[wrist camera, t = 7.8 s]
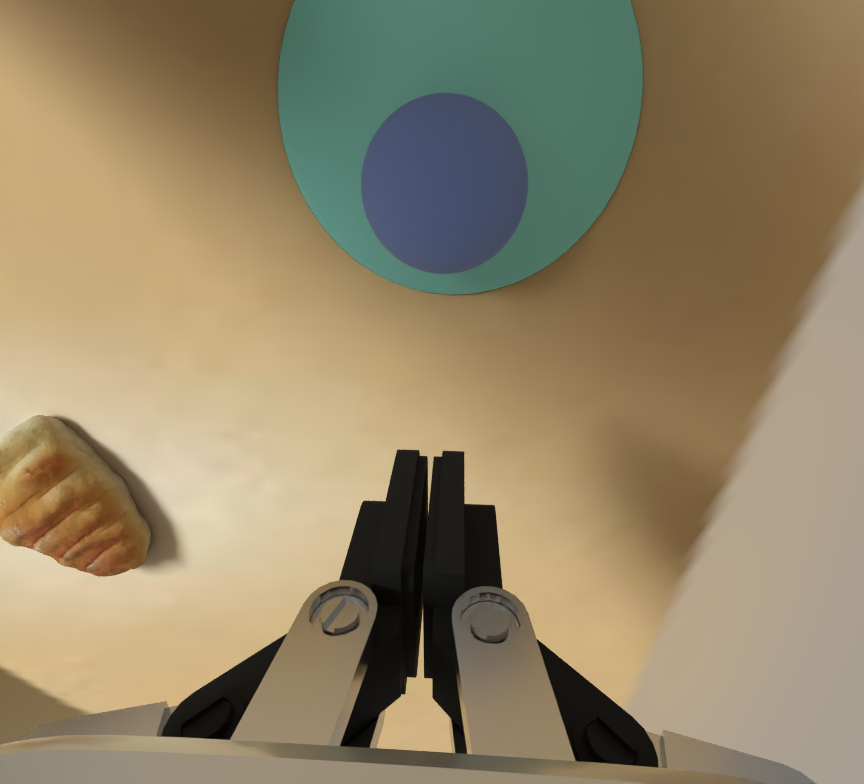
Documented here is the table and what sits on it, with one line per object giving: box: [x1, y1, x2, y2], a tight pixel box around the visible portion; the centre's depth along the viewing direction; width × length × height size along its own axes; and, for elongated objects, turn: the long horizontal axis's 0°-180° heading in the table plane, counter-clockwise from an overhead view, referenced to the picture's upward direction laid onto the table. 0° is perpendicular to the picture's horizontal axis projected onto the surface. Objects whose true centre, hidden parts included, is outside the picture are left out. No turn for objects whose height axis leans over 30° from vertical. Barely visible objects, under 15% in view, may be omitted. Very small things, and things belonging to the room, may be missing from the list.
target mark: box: [278, 0, 643, 295], centre depth 18 cm, size 13×13×1 cm
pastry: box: [0, 415, 151, 576], centre depth 25 cm, size 9×7×4 cm
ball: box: [361, 93, 528, 274], centre depth 16 cm, size 6×6×6 cm
